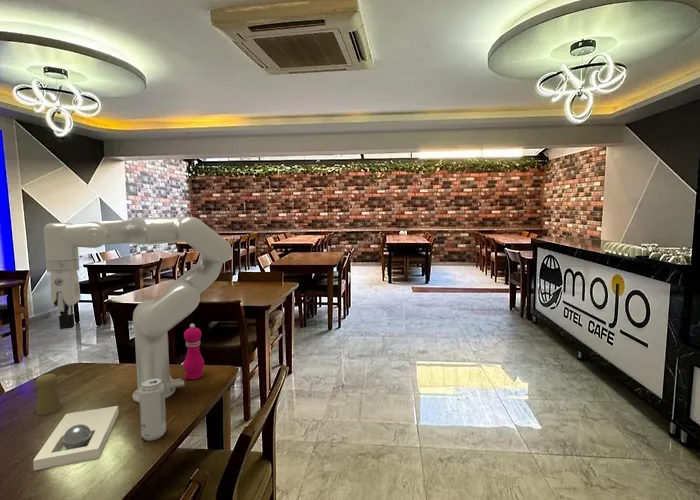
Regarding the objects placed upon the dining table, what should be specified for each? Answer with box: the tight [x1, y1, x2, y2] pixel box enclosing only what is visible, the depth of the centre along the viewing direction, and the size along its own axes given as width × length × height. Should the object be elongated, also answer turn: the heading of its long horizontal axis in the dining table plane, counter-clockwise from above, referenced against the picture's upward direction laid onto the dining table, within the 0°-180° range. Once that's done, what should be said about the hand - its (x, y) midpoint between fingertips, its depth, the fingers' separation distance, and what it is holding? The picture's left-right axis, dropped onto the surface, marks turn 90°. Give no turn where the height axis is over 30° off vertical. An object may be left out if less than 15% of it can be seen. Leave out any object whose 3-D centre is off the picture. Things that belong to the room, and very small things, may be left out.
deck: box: [32, 405, 119, 471], centre depth 101 cm, size 13×22×2 cm, turn 21°
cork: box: [34, 373, 62, 416], centre depth 115 cm, size 6×6×11 cm
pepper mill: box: [182, 323, 205, 380], centre depth 138 cm, size 7×7×20 cm
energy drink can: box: [138, 378, 167, 442], centre depth 102 cm, size 6×6×15 cm
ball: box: [62, 424, 91, 450], centre depth 97 cm, size 6×6×6 cm
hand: (67, 327), depth 111 cm, fingers closed
